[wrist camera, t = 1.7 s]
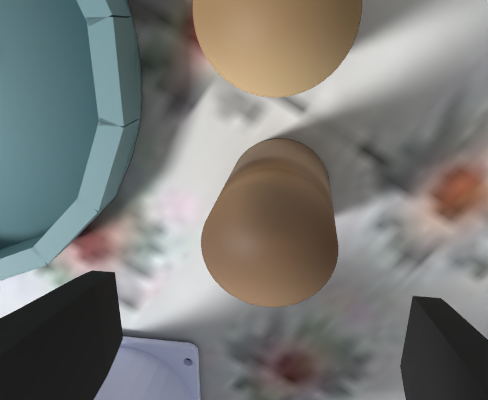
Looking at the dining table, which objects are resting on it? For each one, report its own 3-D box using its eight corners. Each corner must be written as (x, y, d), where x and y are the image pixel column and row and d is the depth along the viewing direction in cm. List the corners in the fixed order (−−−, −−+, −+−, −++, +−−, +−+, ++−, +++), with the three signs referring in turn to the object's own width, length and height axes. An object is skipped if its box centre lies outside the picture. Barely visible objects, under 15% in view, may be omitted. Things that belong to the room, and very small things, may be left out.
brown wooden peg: (325, 233, 20) (332, 312, 14) (231, 227, 20) (203, 301, 15) (333, 140, 18) (344, 188, 13) (230, 136, 19) (198, 181, 13)
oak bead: (338, 76, 17) (353, 99, 12) (230, 74, 18) (195, 95, 12) (348, -49, 16) (371, -91, 10) (229, -47, 16) (189, -86, 11)
